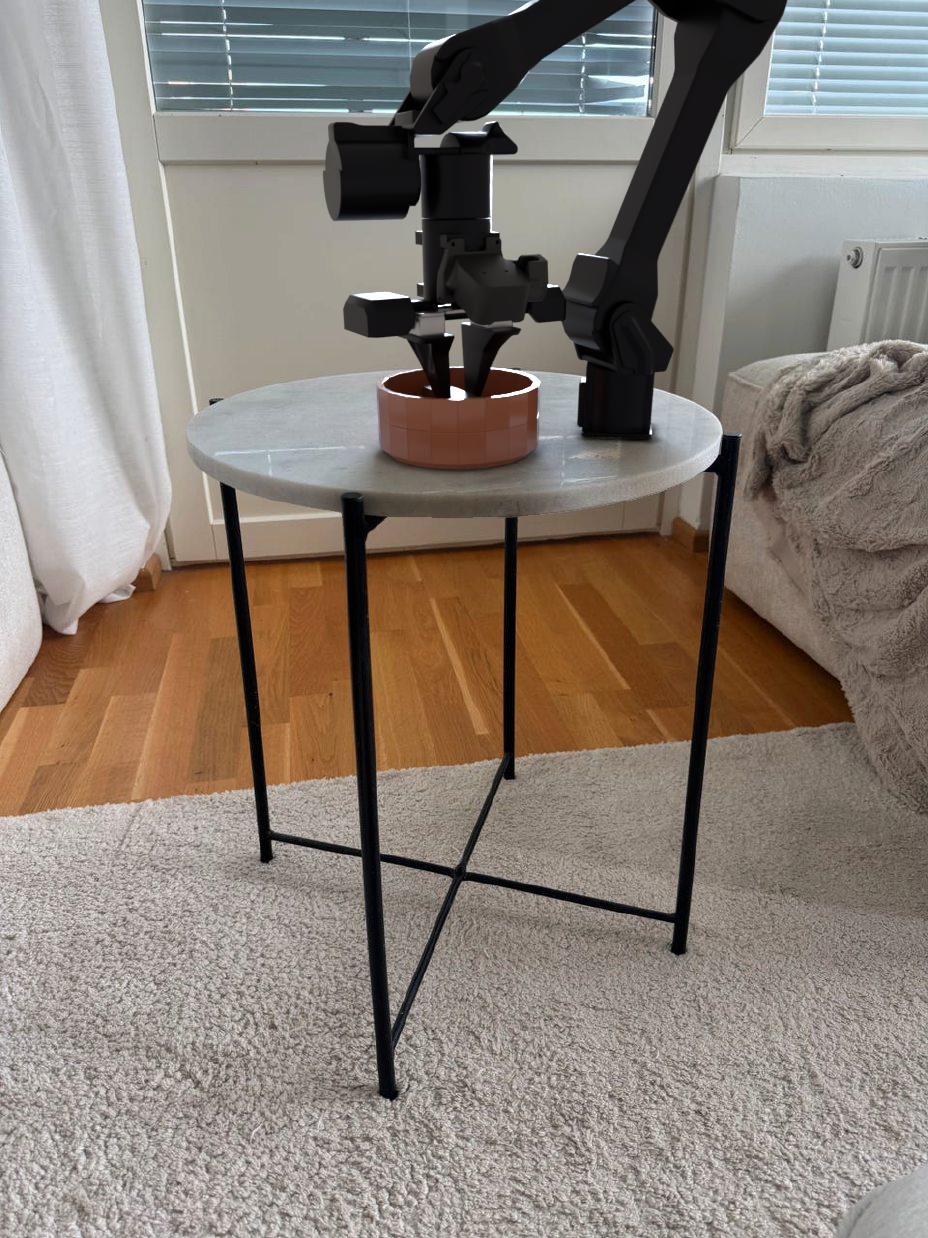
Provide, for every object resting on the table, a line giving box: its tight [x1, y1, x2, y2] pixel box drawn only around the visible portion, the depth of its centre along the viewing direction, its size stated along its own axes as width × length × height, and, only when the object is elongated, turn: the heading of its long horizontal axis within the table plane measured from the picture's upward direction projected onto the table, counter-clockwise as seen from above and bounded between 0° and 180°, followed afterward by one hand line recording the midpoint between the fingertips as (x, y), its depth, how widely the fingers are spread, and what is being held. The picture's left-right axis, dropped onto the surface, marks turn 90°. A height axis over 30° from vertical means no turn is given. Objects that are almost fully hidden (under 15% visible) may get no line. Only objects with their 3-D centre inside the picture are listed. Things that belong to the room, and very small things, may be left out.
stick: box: [422, 385, 481, 399], centre depth 81 cm, size 10×2×2 cm, turn 28°
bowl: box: [375, 365, 541, 471], centre depth 81 cm, size 14×14×6 cm
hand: (458, 410), depth 81 cm, fingers closed on stick, 2 cm apart
